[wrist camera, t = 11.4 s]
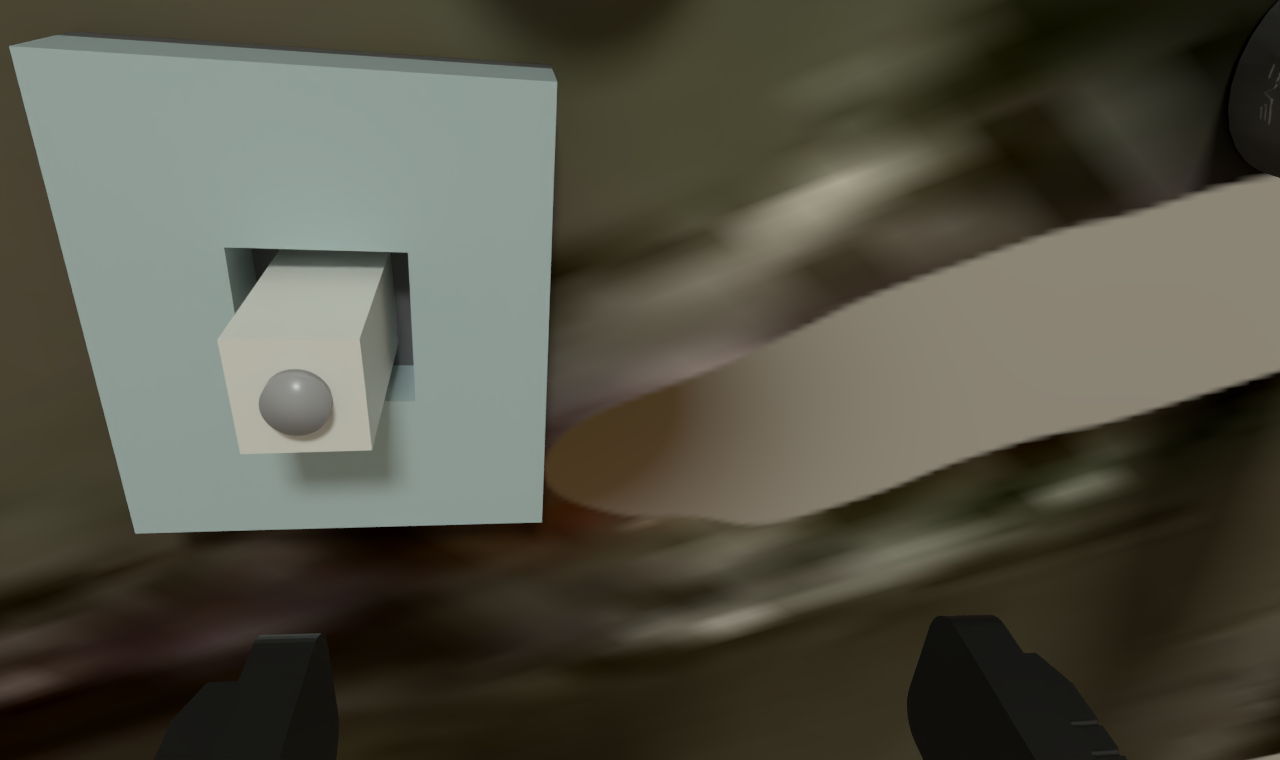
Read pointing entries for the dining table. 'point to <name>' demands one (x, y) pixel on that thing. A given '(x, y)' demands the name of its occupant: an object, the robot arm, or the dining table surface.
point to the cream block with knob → (312, 352)
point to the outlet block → (304, 220)
